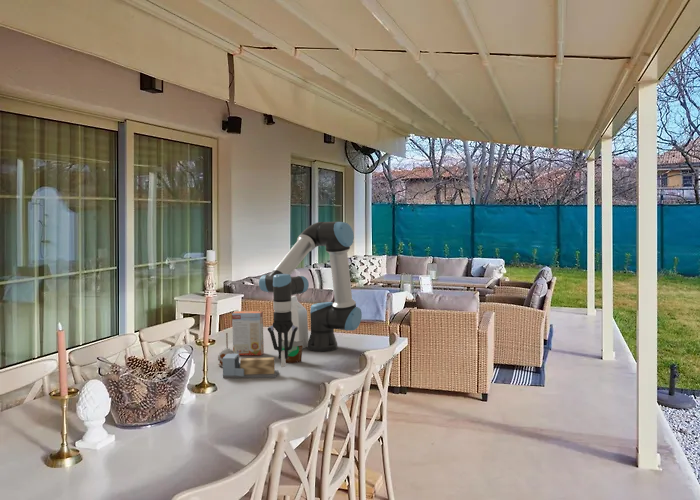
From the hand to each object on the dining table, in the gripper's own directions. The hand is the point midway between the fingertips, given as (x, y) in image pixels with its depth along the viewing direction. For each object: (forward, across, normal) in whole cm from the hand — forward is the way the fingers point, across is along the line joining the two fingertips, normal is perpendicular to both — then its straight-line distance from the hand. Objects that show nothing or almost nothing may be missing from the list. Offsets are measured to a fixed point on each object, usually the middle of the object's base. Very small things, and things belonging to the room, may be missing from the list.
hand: (283, 366), depth 259 cm
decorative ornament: (+4, +28, -16) cm, 32 cm away
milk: (+4, +3, -54) cm, 54 cm away
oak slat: (+3, +11, 0) cm, 11 cm away
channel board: (+4, +14, 0) cm, 14 cm away
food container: (+4, +1, -23) cm, 23 cm away
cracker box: (+4, +23, -38) cm, 45 cm away
